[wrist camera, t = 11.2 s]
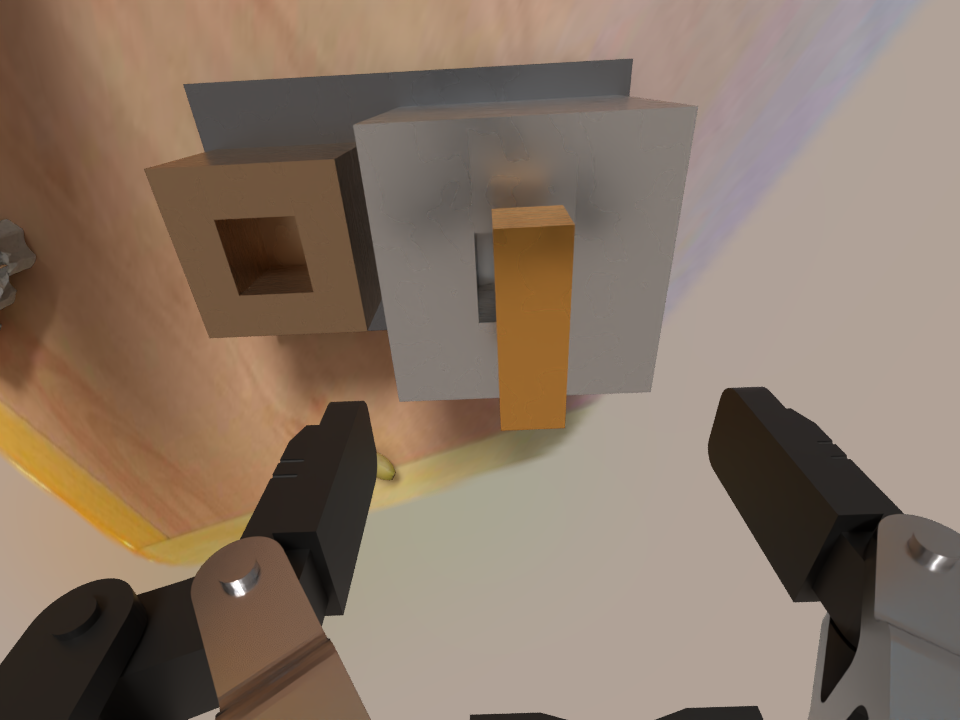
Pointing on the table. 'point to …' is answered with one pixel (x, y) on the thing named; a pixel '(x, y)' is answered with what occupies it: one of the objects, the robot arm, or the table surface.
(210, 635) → the robot arm
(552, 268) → the key
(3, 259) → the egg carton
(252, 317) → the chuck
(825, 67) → the table surface
